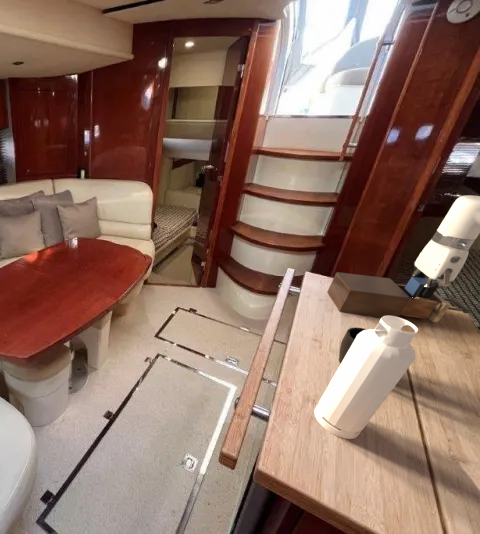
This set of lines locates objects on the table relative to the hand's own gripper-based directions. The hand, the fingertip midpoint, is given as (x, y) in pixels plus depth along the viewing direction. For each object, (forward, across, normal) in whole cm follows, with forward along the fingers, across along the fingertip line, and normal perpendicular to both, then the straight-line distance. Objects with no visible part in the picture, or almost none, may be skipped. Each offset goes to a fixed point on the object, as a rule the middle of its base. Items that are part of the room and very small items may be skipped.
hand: (417, 292), depth 95 cm
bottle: (+8, -51, +35) cm, 63 cm away
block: (0, 0, 0) cm, 0 cm away
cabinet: (+8, 0, +12) cm, 15 cm away
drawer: (+7, 0, -2) cm, 7 cm away
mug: (+8, -33, +25) cm, 42 cm away
